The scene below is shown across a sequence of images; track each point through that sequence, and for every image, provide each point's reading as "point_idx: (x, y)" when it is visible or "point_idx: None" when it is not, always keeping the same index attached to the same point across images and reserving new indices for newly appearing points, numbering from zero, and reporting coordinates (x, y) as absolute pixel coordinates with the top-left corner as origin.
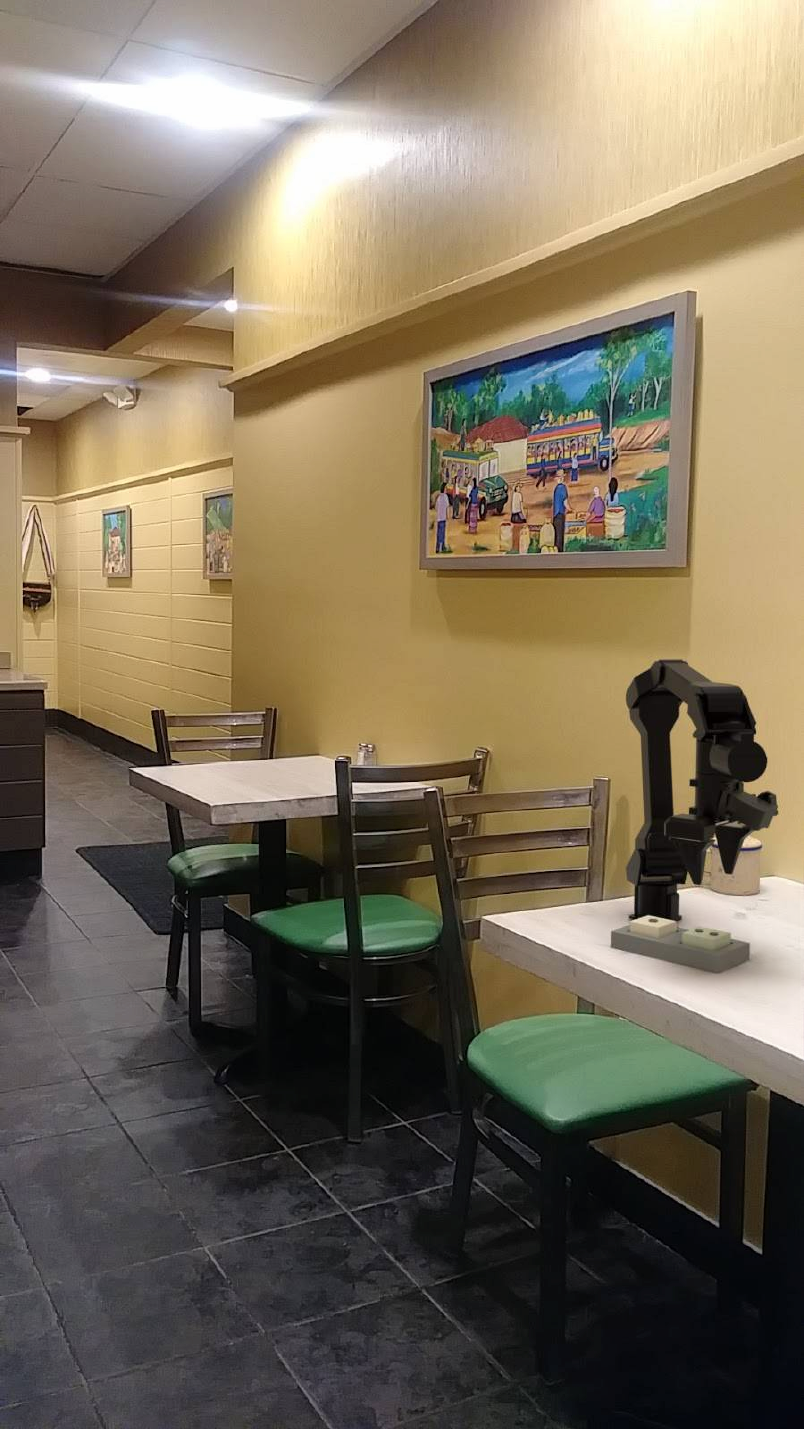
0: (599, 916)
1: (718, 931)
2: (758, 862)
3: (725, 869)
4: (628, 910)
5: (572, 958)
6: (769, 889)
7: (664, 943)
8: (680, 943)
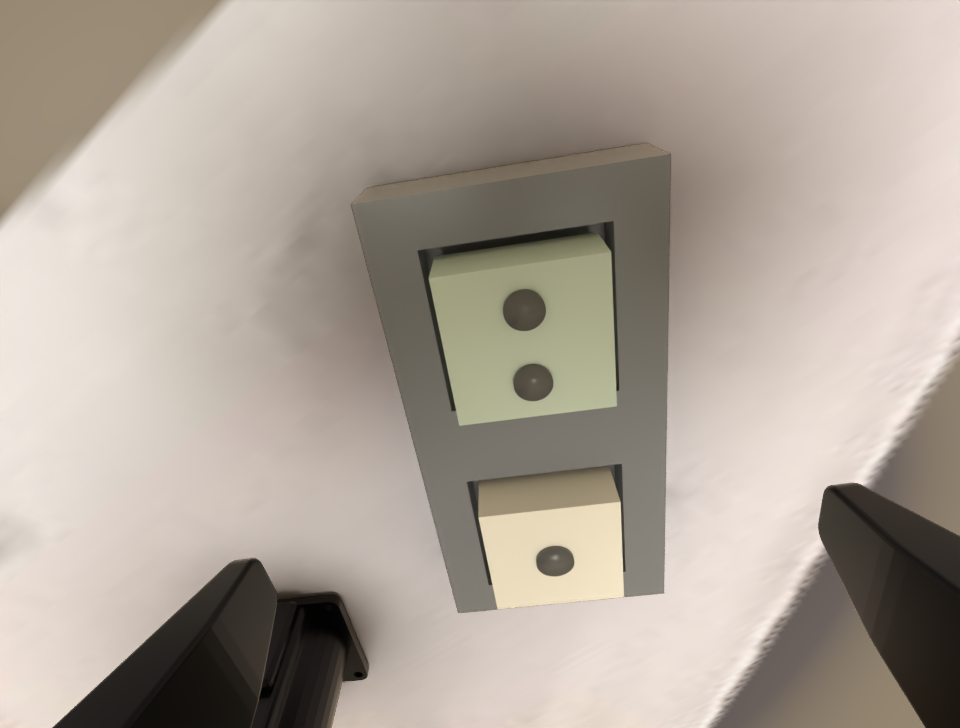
0: (416, 709)
1: (460, 328)
2: None
3: (264, 625)
4: None
5: None
6: None
7: (665, 416)
8: None
